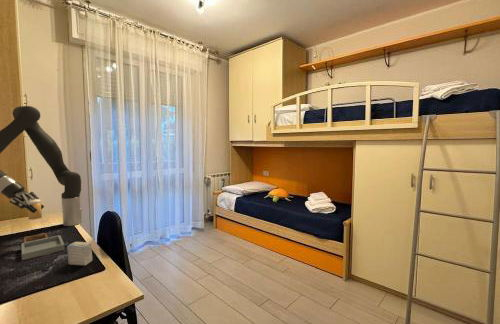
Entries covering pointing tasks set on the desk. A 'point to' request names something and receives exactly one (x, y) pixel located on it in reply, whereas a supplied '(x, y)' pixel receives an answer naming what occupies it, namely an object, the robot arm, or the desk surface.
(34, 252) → the tray
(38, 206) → the pill bottle
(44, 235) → the holder
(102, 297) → the desk surface
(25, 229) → the desk surface
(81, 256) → the medicine box
